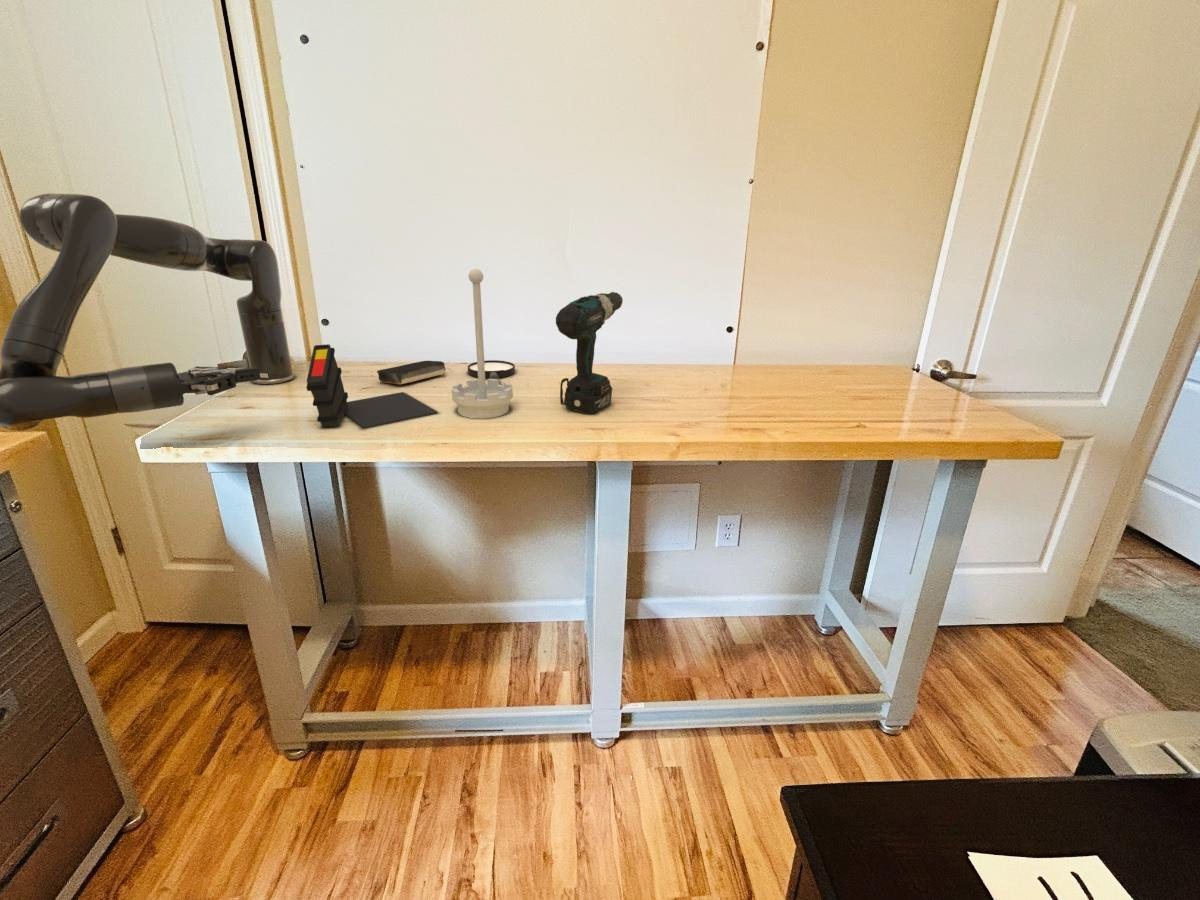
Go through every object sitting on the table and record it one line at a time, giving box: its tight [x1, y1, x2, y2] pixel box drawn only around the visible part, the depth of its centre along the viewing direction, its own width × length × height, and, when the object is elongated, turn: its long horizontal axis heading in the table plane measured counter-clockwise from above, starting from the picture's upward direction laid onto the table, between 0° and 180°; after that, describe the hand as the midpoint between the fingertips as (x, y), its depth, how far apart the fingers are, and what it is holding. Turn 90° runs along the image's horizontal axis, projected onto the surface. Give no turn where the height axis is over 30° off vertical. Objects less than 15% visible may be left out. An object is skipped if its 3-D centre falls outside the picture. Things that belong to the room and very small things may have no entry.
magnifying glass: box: [467, 359, 516, 385], centre depth 157 cm, size 12×24×2 cm, turn 14°
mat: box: [344, 391, 438, 429], centre depth 132 cm, size 18×16×1 cm
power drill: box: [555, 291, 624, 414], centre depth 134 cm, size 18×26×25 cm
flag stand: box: [451, 268, 514, 419], centre depth 127 cm, size 13×13×30 cm
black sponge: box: [376, 360, 446, 385], centre depth 154 cm, size 16×8×4 cm, turn 144°
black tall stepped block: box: [306, 343, 349, 429], centre depth 123 cm, size 4×13×15 cm, turn 9°
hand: (258, 373), depth 113 cm, fingers closed
